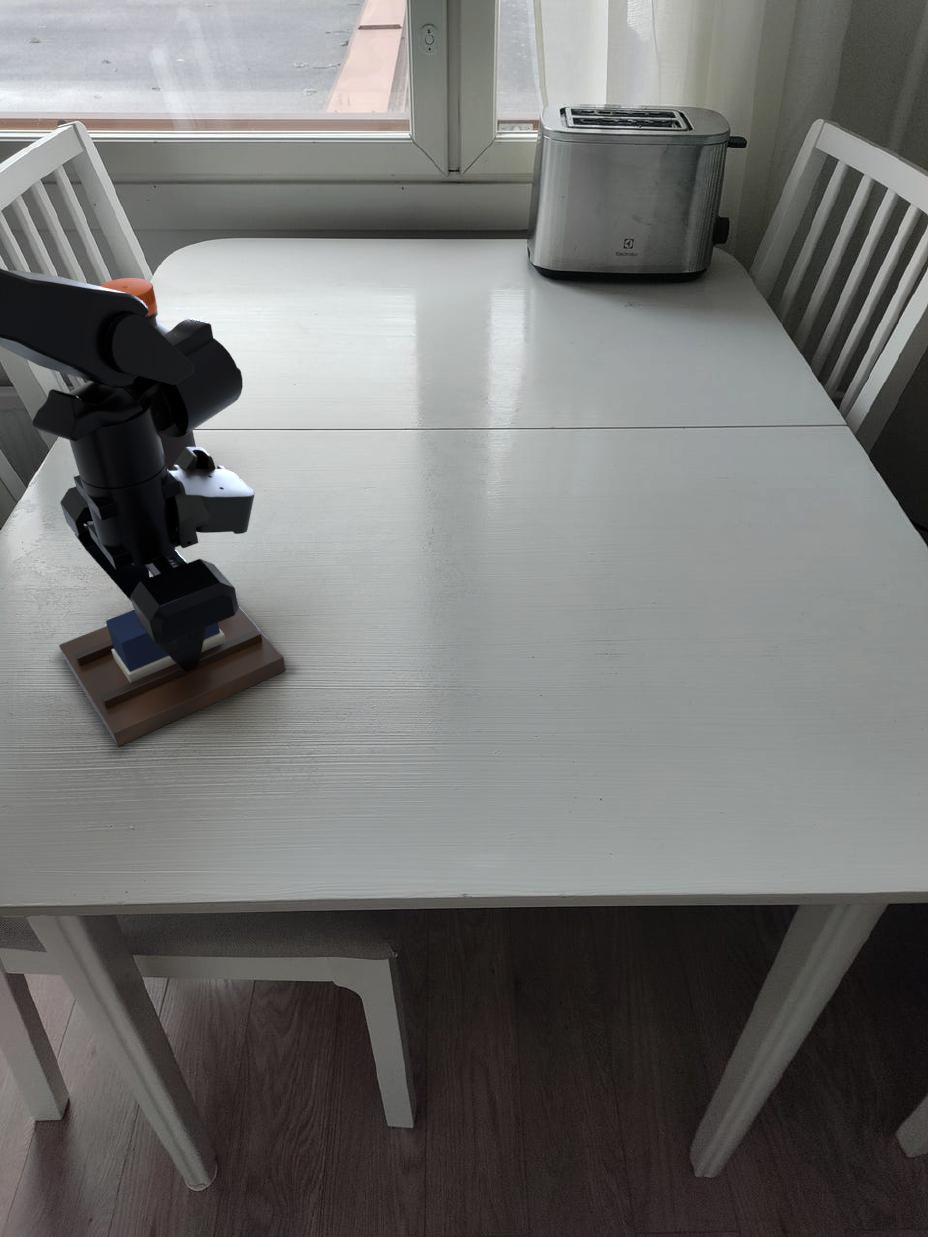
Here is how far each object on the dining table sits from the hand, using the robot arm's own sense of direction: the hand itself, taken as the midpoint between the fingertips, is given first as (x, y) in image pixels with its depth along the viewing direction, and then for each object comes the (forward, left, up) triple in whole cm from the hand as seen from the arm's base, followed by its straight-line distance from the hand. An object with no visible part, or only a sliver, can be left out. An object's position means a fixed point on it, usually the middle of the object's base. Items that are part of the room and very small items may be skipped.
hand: (167, 636), depth 76 cm
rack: (0, 0, -3) cm, 3 cm away
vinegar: (+11, +27, -3) cm, 29 cm away
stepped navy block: (0, 0, -2) cm, 2 cm away
